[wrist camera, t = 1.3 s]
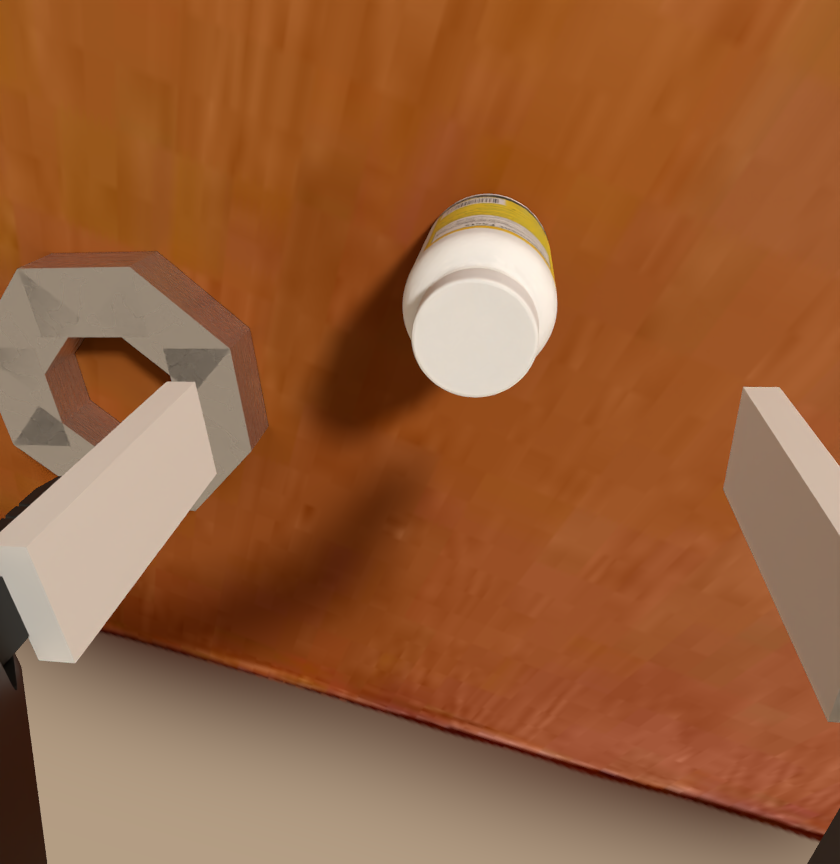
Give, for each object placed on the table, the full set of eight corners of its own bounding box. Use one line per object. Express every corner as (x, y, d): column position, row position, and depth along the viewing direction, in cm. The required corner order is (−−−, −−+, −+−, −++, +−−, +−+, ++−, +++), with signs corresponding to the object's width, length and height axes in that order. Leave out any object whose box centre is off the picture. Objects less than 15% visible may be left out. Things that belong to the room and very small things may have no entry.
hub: (-20, 254, 33) (-69, 273, 30) (234, 249, 31) (206, 269, 28) (65, 479, 39) (31, 510, 36) (280, 486, 37) (260, 520, 34)
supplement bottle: (499, 337, 31) (487, 447, 23) (402, 268, 30) (353, 355, 22) (578, 242, 28) (598, 326, 20) (475, 163, 27) (451, 215, 19)
